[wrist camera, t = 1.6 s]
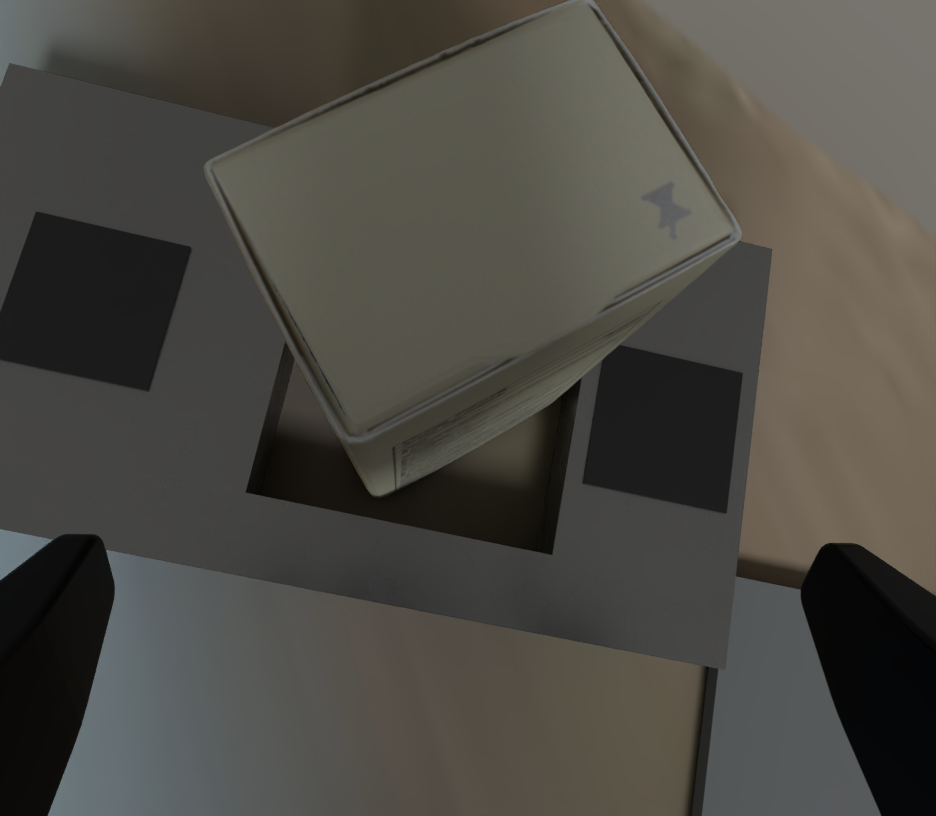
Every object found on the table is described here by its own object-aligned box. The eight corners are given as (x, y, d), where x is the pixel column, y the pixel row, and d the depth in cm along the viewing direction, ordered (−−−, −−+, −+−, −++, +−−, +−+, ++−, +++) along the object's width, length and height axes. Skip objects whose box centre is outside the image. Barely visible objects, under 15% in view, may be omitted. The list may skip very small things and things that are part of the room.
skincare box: (485, 283, 22) (609, -30, 10) (556, 405, 22) (774, 226, 10) (295, 378, 21) (180, 148, 9) (365, 510, 20) (346, 453, 8)
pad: (988, 963, 20) (1006, 976, 19) (680, 913, 19) (689, 924, 19) (999, 632, 22) (1016, 634, 21) (719, 574, 21) (729, 575, 21)
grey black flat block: (692, 658, 21) (727, 670, 19) (-102, 503, 19) (-161, 498, 17) (739, 274, 23) (774, 247, 21) (43, 107, 21) (7, 60, 19)
